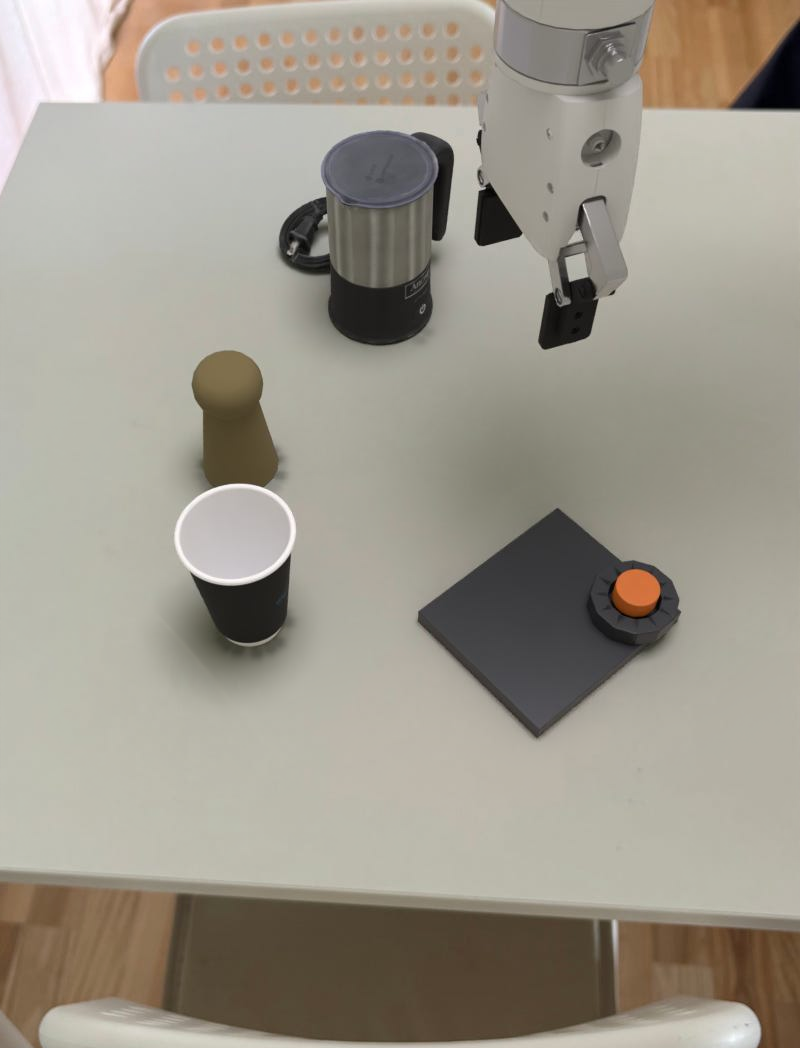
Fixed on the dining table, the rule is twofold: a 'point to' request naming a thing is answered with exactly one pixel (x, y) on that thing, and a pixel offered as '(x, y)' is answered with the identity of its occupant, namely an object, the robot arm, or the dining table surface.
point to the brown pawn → (233, 420)
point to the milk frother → (377, 230)
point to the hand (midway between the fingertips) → (529, 288)
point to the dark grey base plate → (546, 620)
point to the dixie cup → (239, 558)
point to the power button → (636, 593)
